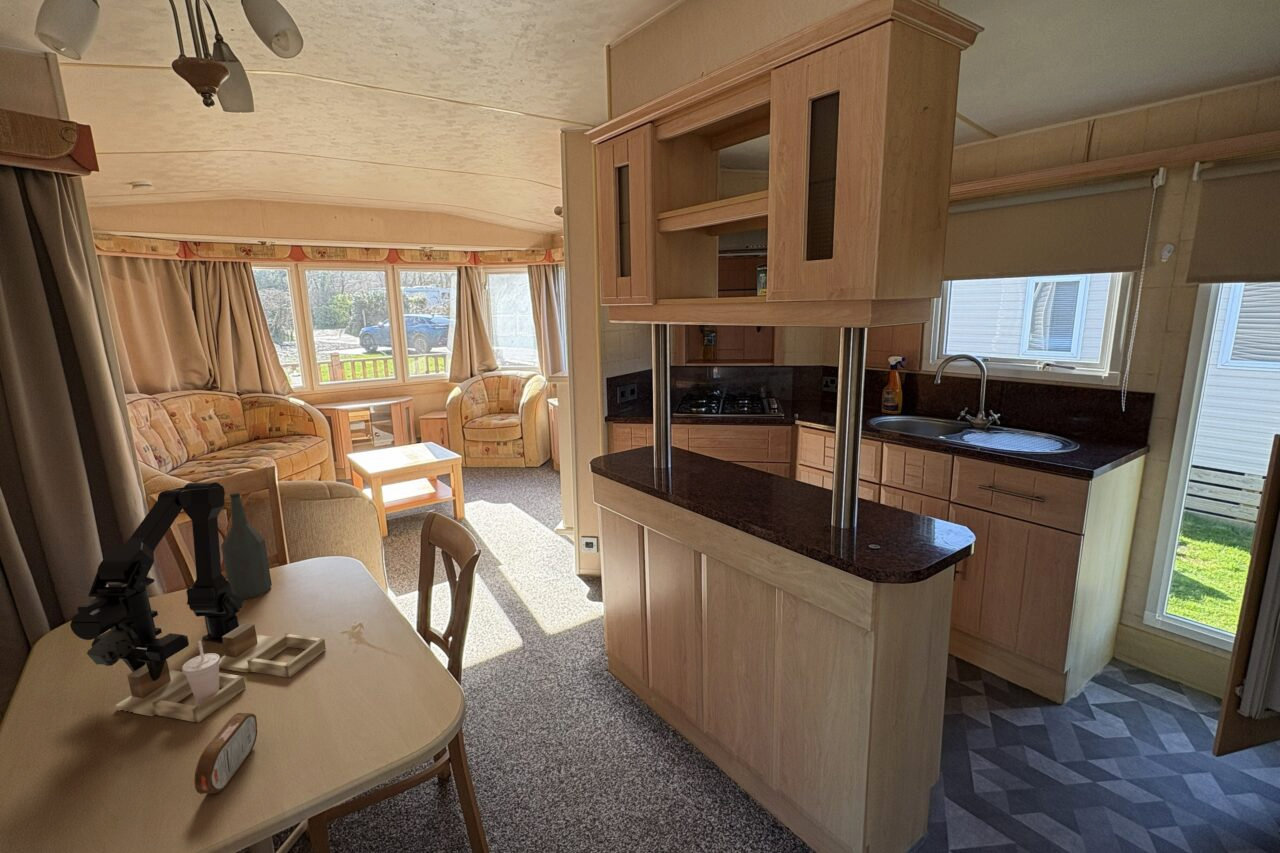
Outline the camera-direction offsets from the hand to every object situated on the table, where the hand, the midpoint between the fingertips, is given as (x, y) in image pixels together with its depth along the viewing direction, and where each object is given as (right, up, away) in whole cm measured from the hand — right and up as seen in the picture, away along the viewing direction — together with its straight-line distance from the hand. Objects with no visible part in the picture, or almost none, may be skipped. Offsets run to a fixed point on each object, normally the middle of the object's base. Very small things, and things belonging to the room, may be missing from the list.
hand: (148, 678), depth 127 cm
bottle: (-7, +6, +44) cm, 45 cm away
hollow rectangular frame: (+18, 0, +13) cm, 22 cm away
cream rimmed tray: (+8, -4, -1) cm, 9 cm away
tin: (+32, -8, -20) cm, 39 cm away
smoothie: (+15, -4, -3) cm, 16 cm away
